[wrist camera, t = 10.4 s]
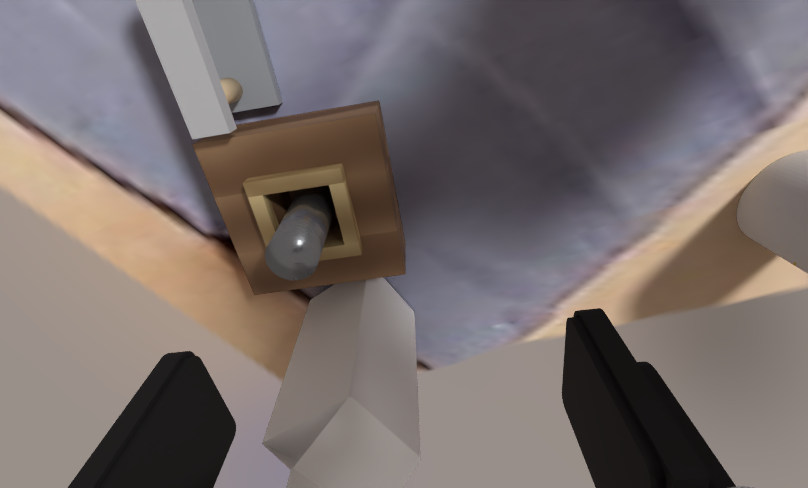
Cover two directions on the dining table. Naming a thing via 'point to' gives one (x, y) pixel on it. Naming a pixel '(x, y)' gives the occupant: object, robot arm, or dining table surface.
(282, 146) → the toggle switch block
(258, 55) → the peg rack
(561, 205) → the dining table surface
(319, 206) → the pin
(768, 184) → the light grey cylinder
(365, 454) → the milk carton
